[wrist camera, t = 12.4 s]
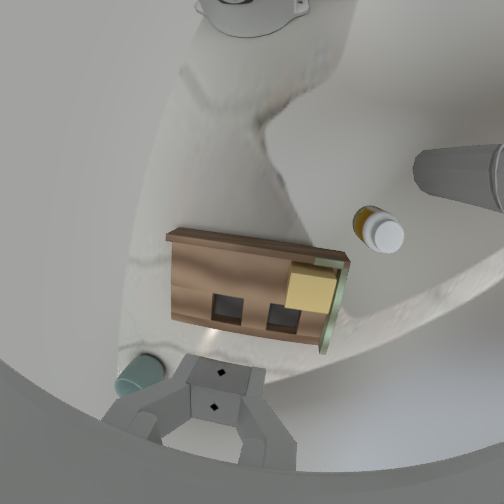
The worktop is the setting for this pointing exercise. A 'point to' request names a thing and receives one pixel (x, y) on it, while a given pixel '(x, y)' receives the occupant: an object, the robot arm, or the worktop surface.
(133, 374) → the cup
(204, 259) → the box
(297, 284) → the block
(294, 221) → the worktop surface
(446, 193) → the water bottle
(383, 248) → the supplement bottle
